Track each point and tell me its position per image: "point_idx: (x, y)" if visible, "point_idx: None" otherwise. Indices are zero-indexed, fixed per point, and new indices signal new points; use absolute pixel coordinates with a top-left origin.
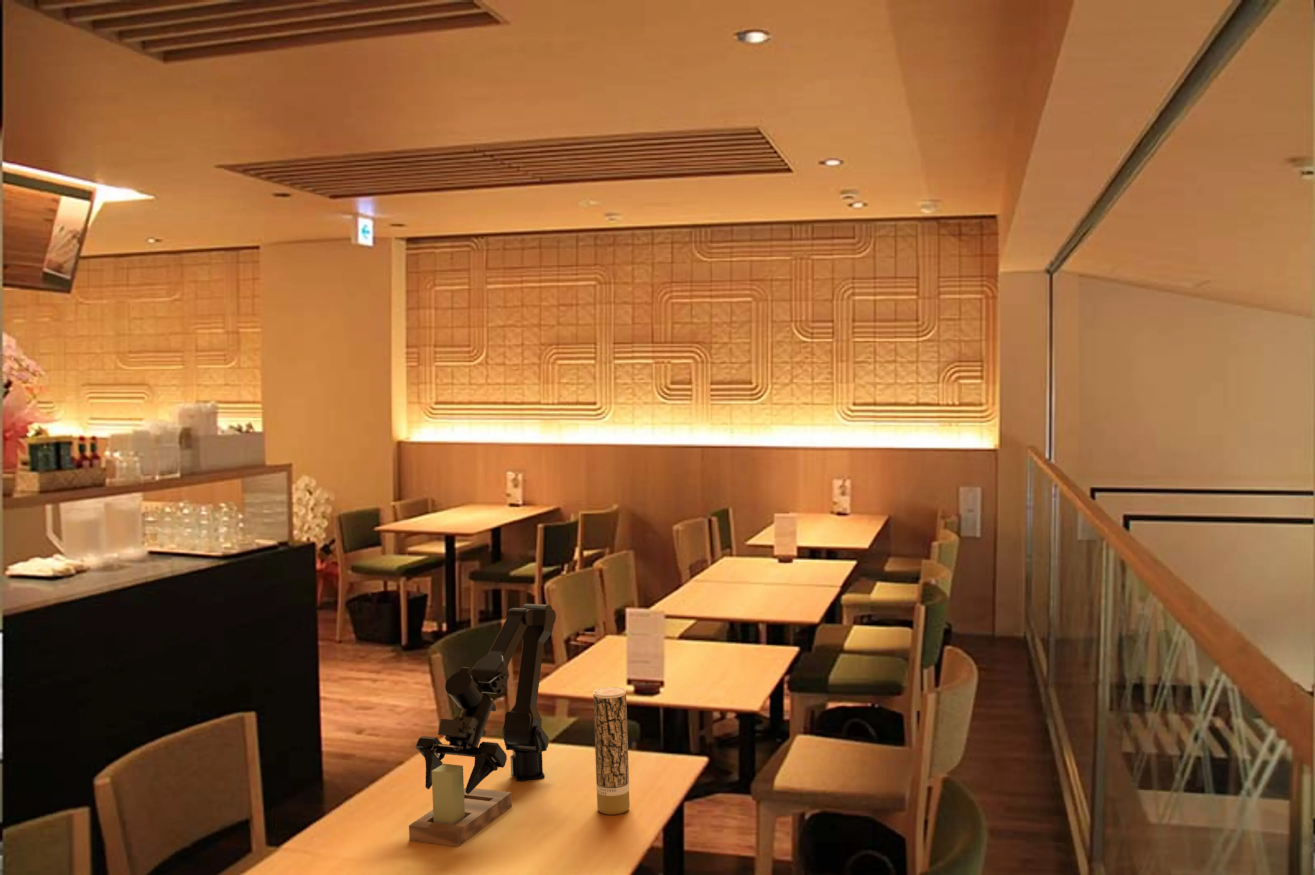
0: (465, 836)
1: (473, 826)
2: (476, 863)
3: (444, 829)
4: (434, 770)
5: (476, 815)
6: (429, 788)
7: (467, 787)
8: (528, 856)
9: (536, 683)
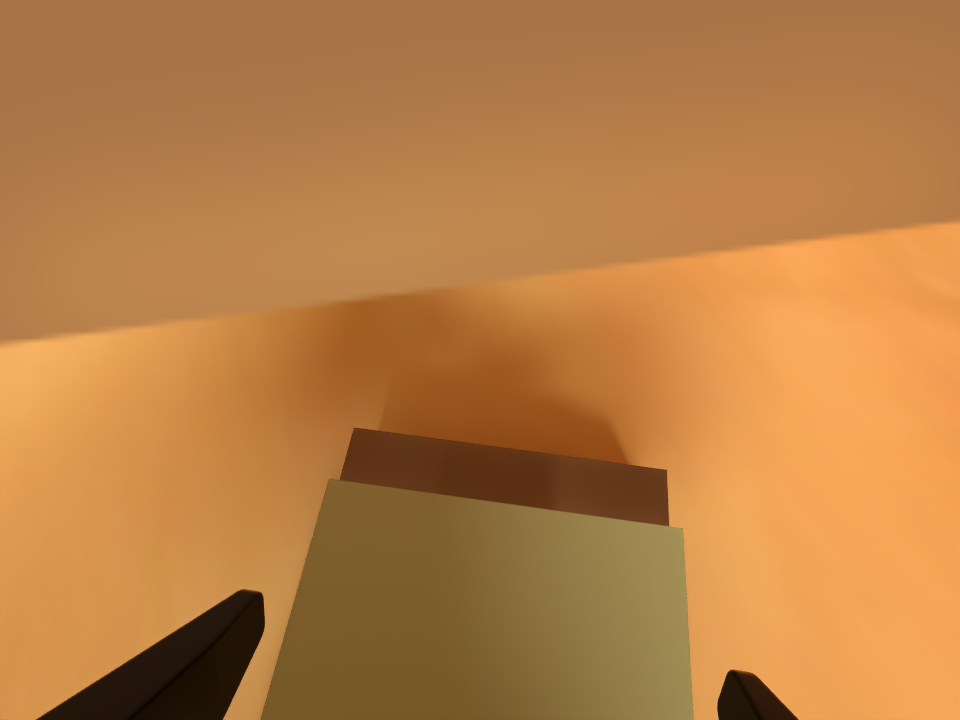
0: None
1: None
2: (251, 320)
3: (435, 446)
4: (648, 555)
5: None
6: (719, 717)
7: (221, 613)
8: (30, 408)
9: None
